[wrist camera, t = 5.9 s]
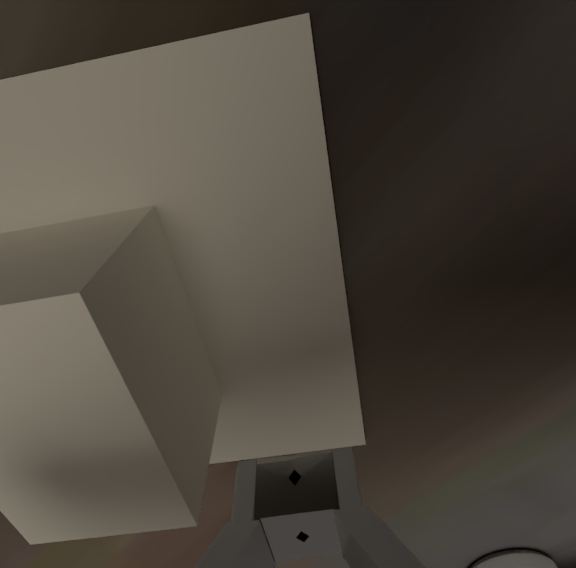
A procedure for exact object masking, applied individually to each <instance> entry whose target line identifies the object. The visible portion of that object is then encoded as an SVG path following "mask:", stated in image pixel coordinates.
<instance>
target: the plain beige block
mask: <svg viewBox="0 0 576 568" xmlns="http://www.w3.org/2000/svg"><path fill="white" fill-rule="evenodd" d="M221 398H222V393H221V391H220V388H219V385H218V382H217V379H216V377H215V374H214V371H213V368H212V365H211V363H210V360H209V357H208V354H207V351H206V349H205V346H204V343H203V340H202V337H201V335H200V332H199V329H198V326H197V323H196V320H195V318H194V315H193V312H192V309H191V306H190V304H189V301H188V298H187V295H186V292H185V290H184V287H183V284H182V281H181V278H180V276H179V273H178V270H177V267H176V264H175V262H174V259H173V256H172V253H171V250H170V248H169V245H168V242H167V239H166V236H165V234H164V231H163V228H162V225H161V222H160V220H159V217H158V214H157V211H156V208H155V206H154V205H153V206H148V207H142V208H137V209H131V210H126V211H121V212H115V213H110V214H104V215H99V216H93V217H88V218H82V219H77V220H71V221H66V222H60V223H55V224H49V225H44V226H38V227H33V228H27V229H22V230H16V231H11V232H5V233H0V511H1V512H2V513H3V514H4V515H5V517H6V518H7V519H8V520H9V521H10V522H11V523H12V524H13V525H14V527H15V528H16V529H17V530H18V531H19V532H20V533H21V534H22V536H23V537H24V538H25V539H26V540H27V541H28V542H29V543H30V545H31V544H40V543H49V542H58V541H67V540H76V539H85V538H94V537H103V536H112V535H121V534H130V533H139V532H148V531H157V530H166V529H175V528H184V527H193V526H198V521H199V515H200V510H201V505H202V499H203V494H204V489H205V483H206V478H207V473H208V467H209V462H210V457H211V451H212V446H213V441H214V435H215V430H216V425H217V419H218V414H219V409H220V403H221Z"/></svg>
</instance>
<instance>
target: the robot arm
mask: <svg viewBox="0 0 576 568" xmlns="http://www.w3.org/2000/svg"><path fill="white" fill-rule="evenodd" d="M335 555H343V558H344V559H345V561H346V562H347V563H348V565H349V566H350V568H425V567H424V566H423V565H422V563H421V562H420V561H419V560H418V559H417V558H416V557H415V556H414V555H413V554H412V552H411V551H410V550H409V549H408V548H407V547H406V546H405V545H404V544H403V543H402V541H401V540H400V539H399V538H398V537H397V536H396V535H395V534H394V533H393V532H392V530H391V529H390V528H389V527H388V526H387V525H386V524H385V523H384V522H383V521H382V520H381V518H380V517H379V516H378V515H377V514H376V513H375V512H374V511H373V510H372V509H371V507H370V506H363V503H362V498H361V493H360V487H359V482H358V477H357V472H356V466H355V461H354V456H353V450H352V448H351V446H350V447H343V448H336V449H326V450H319V451H312V452H306V453H299V454H295V455H291V456H282V457H272V458H263V459H255V460H247V461H239V463H238V466H237V471H236V481H235V490H234V500H233V509H232V519H231V523H229V524H225V525H224V527H223V528H222V530H221V531H220V533H219V534H218V536H217V537H216V538H215V540H214V541H213V543H212V544H211V546H210V547H209V549H208V550H207V552H206V553H205V554H204V556H203V557H202V559H201V560H200V562H199V563H198V565H197V566H196V568H274V567H275V563H278V562H284V561H291V560H297V559H304V558H312V557H324V556H335Z"/></svg>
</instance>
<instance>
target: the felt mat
mask: <svg viewBox="0 0 576 568" xmlns="http://www.w3.org/2000/svg"><path fill="white" fill-rule="evenodd" d="M153 205H154V206H155V208H156V211H157V214H158V217H159V220H160V222H161V225H162V228H163V231H164V234H165V236H166V239H167V242H168V245H169V248H170V250H171V253H172V256H173V259H174V262H175V264H176V267H177V270H178V273H179V276H180V278H181V281H182V284H183V287H184V290H185V292H186V295H187V298H188V301H189V304H190V306H191V309H192V312H193V315H194V318H195V320H196V323H197V326H198V329H199V332H200V335H201V337H202V340H203V343H204V346H205V349H206V351H207V354H208V357H209V360H210V363H211V365H212V368H213V371H214V374H215V377H216V379H217V382H218V385H219V388H220V391H221V393H222V398H221V403H220V409H219V414H218V419H217V425H216V430H215V435H214V441H213V446H212V451H211V457H210V462H209V464H213V463H221V462H230V461H238V460H246V459H254V458H262V457H270V456H278V455H286V454H294V453H302V452H310V451H318V450H326V449H334V448H342V447H350V446H358V445H366V443H365V435H364V428H363V420H362V412H361V405H360V397H359V390H358V382H357V374H356V367H355V359H354V352H353V344H352V336H351V329H350V321H349V313H348V306H347V298H346V291H345V283H344V275H343V268H342V260H341V253H340V245H339V237H338V230H337V222H336V214H335V207H334V199H333V192H332V184H331V176H330V169H329V161H328V154H327V146H326V138H325V131H324V123H323V115H322V108H321V100H320V93H319V85H318V77H317V70H316V62H315V55H314V47H313V39H312V32H311V24H310V17H309V13H306V14H301V15H297V16H292V17H287V18H283V19H278V20H274V21H269V22H264V23H260V24H255V25H251V26H246V27H241V28H237V29H232V30H228V31H223V32H218V33H214V34H209V35H205V36H200V37H195V38H191V39H186V40H182V41H177V42H173V43H168V44H163V45H159V46H154V47H150V48H145V49H140V50H136V51H131V52H127V53H122V54H117V55H113V56H108V57H104V58H99V59H94V60H90V61H85V62H81V63H76V64H71V65H67V66H62V67H58V68H53V69H48V70H44V71H39V72H35V73H30V74H25V75H21V76H16V77H12V78H7V79H2V80H0V233H5V232H11V231H16V230H22V229H27V228H33V227H38V226H44V225H49V224H55V223H60V222H66V221H71V220H77V219H82V218H88V217H93V216H99V215H104V214H110V213H115V212H121V211H126V210H131V209H137V208H142V207H148V206H153Z"/></svg>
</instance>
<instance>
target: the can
mask: <svg viewBox="0 0 576 568" xmlns="http://www.w3.org/2000/svg"><path fill="white" fill-rule="evenodd" d="M470 568H558V567H557V566H556V564H555V563H554V562H553V561H552V560H551V559H550V558H548V557H546V556H545V555H543V554H542V553H540V552H537V551H533V550H528V549H510V550H504V551H499V552H495V553H492V554H489V555H487V556H485V557H483V558H481V559H479V560H478V561H476V562H475V563H474V564H473V565H472V566H471V567H470Z"/></svg>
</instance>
